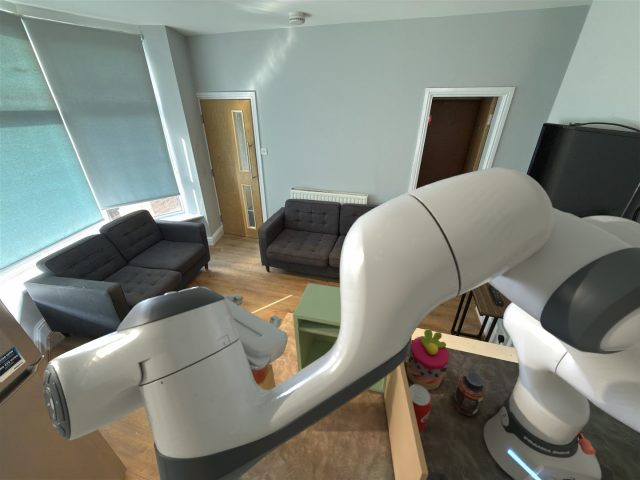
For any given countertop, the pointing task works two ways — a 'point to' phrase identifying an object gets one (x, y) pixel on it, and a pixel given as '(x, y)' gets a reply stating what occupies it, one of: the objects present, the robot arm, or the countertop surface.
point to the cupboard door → (405, 430)
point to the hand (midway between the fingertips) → (258, 309)
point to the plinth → (268, 379)
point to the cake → (427, 360)
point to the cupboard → (319, 325)
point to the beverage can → (421, 405)
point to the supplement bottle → (469, 393)
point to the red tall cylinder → (259, 374)
